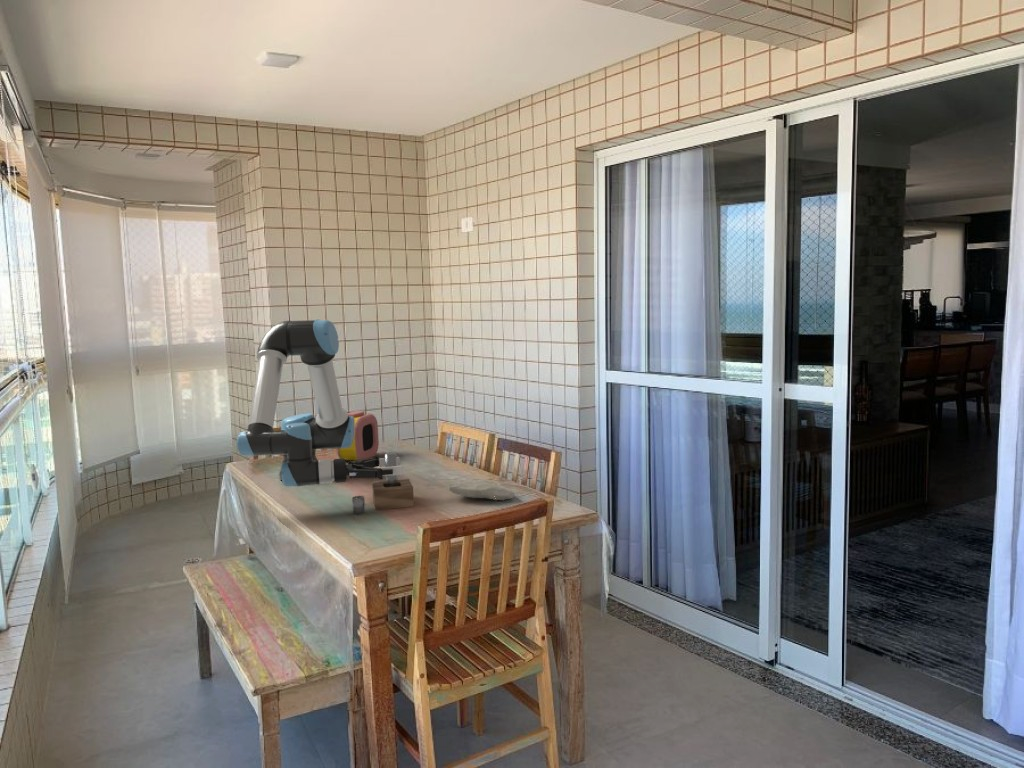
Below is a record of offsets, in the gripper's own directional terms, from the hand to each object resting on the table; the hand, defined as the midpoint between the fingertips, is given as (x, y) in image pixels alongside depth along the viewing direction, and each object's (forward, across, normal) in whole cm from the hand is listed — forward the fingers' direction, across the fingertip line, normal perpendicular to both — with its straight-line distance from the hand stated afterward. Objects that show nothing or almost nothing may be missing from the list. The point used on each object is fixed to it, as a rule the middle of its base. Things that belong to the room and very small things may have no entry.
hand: (401, 465), depth 246 cm
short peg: (-14, +8, -12) cm, 20 cm away
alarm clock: (-11, -73, -12) cm, 75 cm away
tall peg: (-3, 0, -12) cm, 12 cm away
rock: (+24, +2, -12) cm, 27 cm away
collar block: (-3, 0, -12) cm, 12 cm away
